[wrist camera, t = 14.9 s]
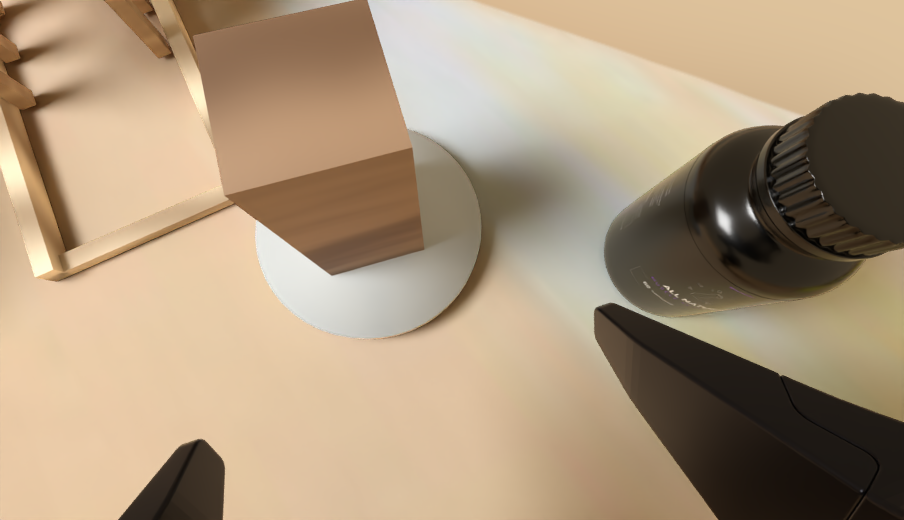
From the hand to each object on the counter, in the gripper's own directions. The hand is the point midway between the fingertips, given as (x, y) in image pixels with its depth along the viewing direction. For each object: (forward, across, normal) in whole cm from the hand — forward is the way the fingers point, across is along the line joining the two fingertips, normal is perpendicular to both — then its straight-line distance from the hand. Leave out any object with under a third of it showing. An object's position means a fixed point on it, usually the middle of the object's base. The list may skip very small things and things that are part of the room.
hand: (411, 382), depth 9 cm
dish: (+15, +1, +3) cm, 15 cm away
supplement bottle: (+10, -14, +8) cm, 19 cm away
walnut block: (+14, +1, +2) cm, 14 cm away
